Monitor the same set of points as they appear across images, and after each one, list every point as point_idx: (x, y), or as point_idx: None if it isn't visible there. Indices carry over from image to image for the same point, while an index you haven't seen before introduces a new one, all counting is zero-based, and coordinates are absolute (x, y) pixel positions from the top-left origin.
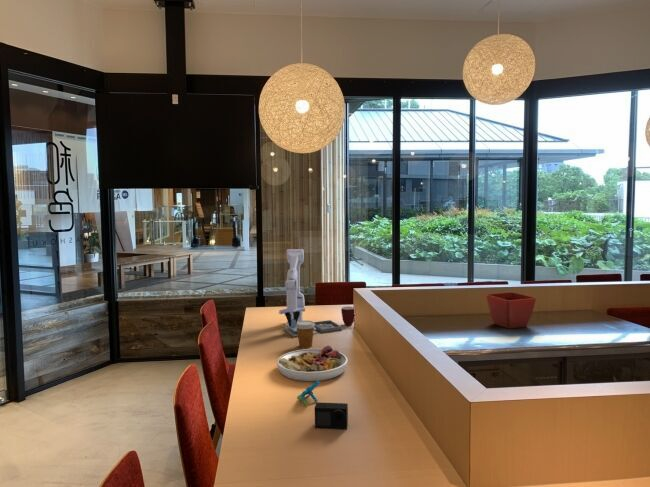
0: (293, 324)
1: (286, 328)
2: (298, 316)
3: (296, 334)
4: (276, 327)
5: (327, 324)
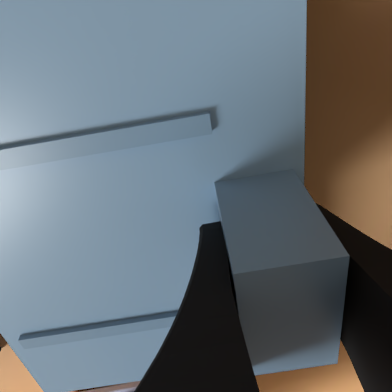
0: (270, 204)
1: None
2: (162, 368)
3: None
4: None
5: None
